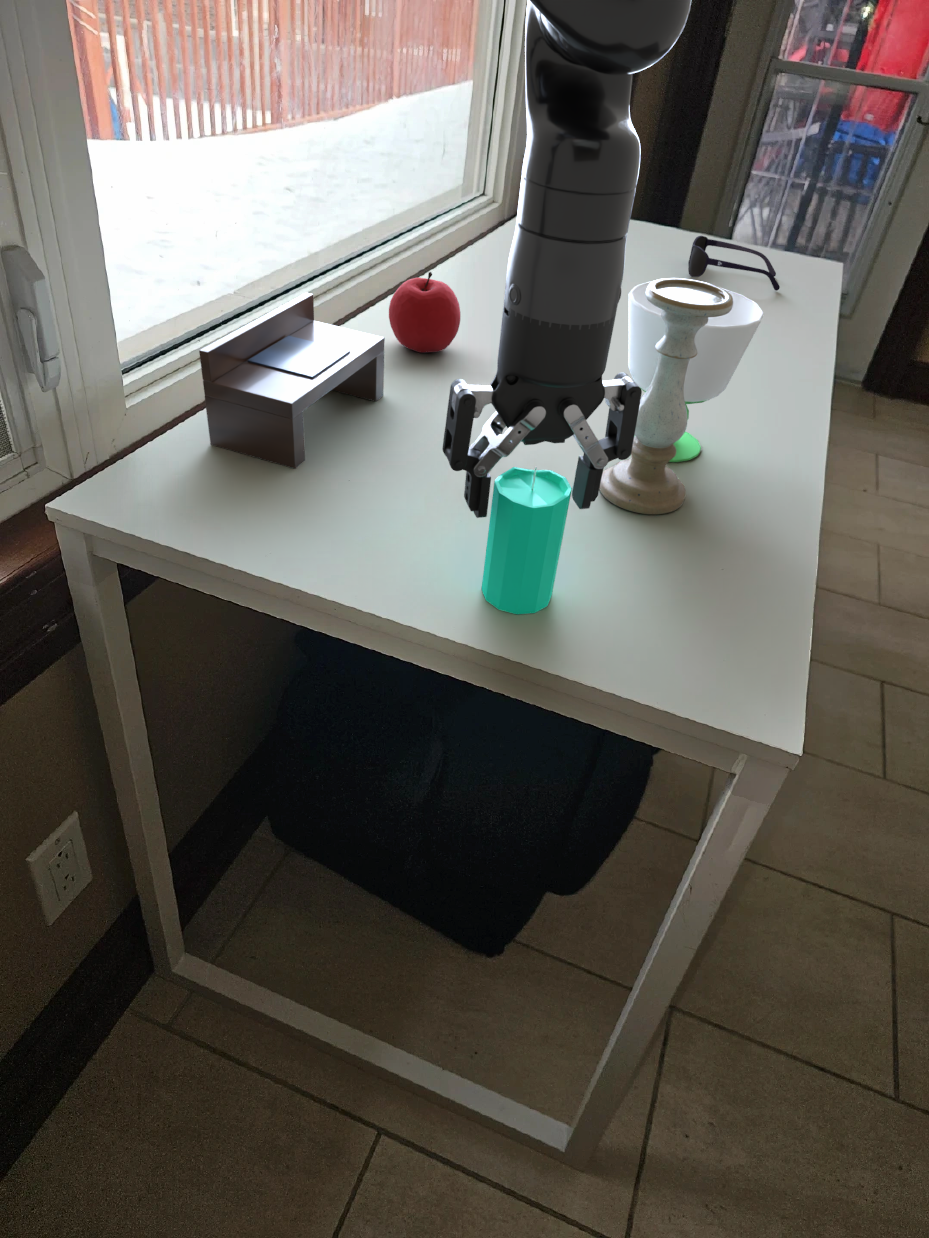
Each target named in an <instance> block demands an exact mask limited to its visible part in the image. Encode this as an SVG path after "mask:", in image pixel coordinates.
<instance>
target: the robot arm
mask: <svg viewBox="0 0 929 1238" xmlns="http://www.w3.org/2000/svg"><path fill="white" fill-rule="evenodd" d="M691 5H692V0H527V5H526V16H525V35H524V36H525V37H524V38H525V41H524V46H525V47H524V52H525V53H524V55H525V57H524V58H525V59H524V60H525V62H524V66H525V67H524V68H525V70H524V71H525V108H526V109H525V110H526V134H527V135H526V147H525V151H524V157H523V163H522V168H521V176H520V177H521V179H520V186H519V187H520V188H519V194H518V195H519V196H518V205H517V214H516V221H515V228H514V234H513V238H512V241H511V242H512V243H511V246H510V251H509V254H508V255H509V256H508V262H507V269H506V280H505V288H504V289H505V290H504V297H503V306H502V307H503V308H502V316H501V325H500V327H501V328H500V335H499V343H498V344H499V345H498V352H497V353H498V354H497V367H496V373H495V376H494V378H493V379H492V381H491V382H490V384H489V385H488V384H487V385H483V384H482V385H481V384H467V381H465V379H462V378H457V379H455V380H453V381H452V382H451V384H450V386H449V387H450V388H449V395H448V403H447V410H446V418H445V426H444V433H443V442H442V453H443V454H444V456H445V457H446V459H447V461H448V464H449V466H450V469H451V470H452V471H455V472H460V471H461V472H462V471H465V481H464V493H463V498H464V500H465V502H466V504H467V506H468V509H469V510H470V512H473V514H474V516H475V518H476V519H481V518H487V516H488V510H489V509H488V508H489V499H490V492H491V491H490V490H491V482H492V476H491V475H490V472H491V471H492V470H493V468H495V466H496V465H497V464H498V463H499V462H500V460H501V459H502V458H507V457H509V456H510V454H512V452H514V450H515V449H516V448H517V447H518V445H520V444H521V442H522V444H523V445H524V446H533V445H537V444H541V443H545V442H546V443H551V444H564V443H565V442H566V440H567V439H569V438H571V437H573V439H574V440H575V441H576V443H577V445H578V447H579V448H580V449H581V451H582V453H583V455H579V456H578V458H577V464H576V465H577V466H576V470H575V474H574V481H573V486H572V491H571V497H572V501H573V502H574V503H575V505H576V506H577V508H578V509H579V510H588V509H590V508H591V504H592V502H595V501H596V500H597V498H598V496H599V492H600V483H601V478H602V474H603V472H604V470H605V468H606V466H607V465H608V463H610V462H613V461H614V460H616V459H618V460H619V461H623V460H627V459H628V458H629V457H630V456H631V452H632V447H633V441H634V435H635V429H636V423H637V417H638V412H639V406H640V400H641V397H642V393H643V390H642V389H641V388H640V387H639V386H638V385H637V384H636V383H635V382H634V381H633V378H632V377H631V376H629V374H627V373H626V372H622V371H621V372H619V373H617V374H616V375H615V376H614V377H613V379H609V380H603V374H604V373H605V371H606V368H607V363H608V358H609V353H610V349H611V348H610V347H611V343H612V337H613V331H614V326H615V321H616V316H617V312H618V311H617V310H618V305H619V303H620V299H621V297H622V286H623V285H622V284H623V280H624V273H625V265H626V246H627V240H628V239H627V237H628V233H629V227H630V222H631V217H632V211H633V206H634V201H635V196H636V190H637V184H638V179H639V174H640V166H641V143H640V138H639V136H638V134H637V132H636V128H634V125H633V123H632V119H631V112H630V107H631V97H632V96H631V95H632V85H633V74H635V73H639V72H641V71H643V70H646V69H647V68H650V67H651V66H653V65H654V64H656V63H658V62H659V61H660V60H661V59H663V58H664V56H666V55H667V53H669V52H670V50H671V49H672V48H673V46H674V45H675V44H676V42H677V41H678V39H679V37H680V36H681V34H682V32H683V31H684V28H685V26H686V23H687V20H688V18H689V14H690V10H691ZM603 401H604V402H605V404H606V406H608V414H607V420H606V421H607V422H606V428H605V434H604V438H601V439H598V438H597V436H596V435H595V433H594V431H593V429H592V427H591V426H590V425H589V423H588V419H589V418H590V417H591V416H592V414H593V413H594V412H595V411H596V410H597V409H598V408H599V407H600V406H601V404H602V403H603ZM489 404H491V405H492V407H493V408H494V409H495V412H493V414H491V416H490V417H489V418H488V420H487V421H486V422H485V423H484V424H483V426H482V427H481V433H480V434H479V435H478V436H477V438H476V439H475V440H474V441H473V442H472V443H471V437H472V431H473V425H474V419H478V418H479V417H480V416H481V414H482V411H483V409H484V408H485V406H487V405H489ZM505 428H507V429H506V430H505V432H504V433H503V431H504V429H505Z"/></svg>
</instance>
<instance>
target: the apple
mask: <svg viewBox="0 0 929 1238" xmlns="http://www.w3.org/2000/svg"><path fill="white" fill-rule="evenodd" d="M432 276H433V273H432V271H428V276H427V278H426V277H425V278H424V277H413V278H410V279H407V280H405V281H404V282H403V283H402V284H401V285H399V287H398V288H397V289H396V290H395V292H393V295H392V297H391V299H390V301H389V306H388V320H389V325H390V327H391V330H392V333H393V335H394V337H395V339H396V340H397V341H398V342H399V343H400V344H401V346H403V347H405V348H406V349H409V350H412V351H414V352H416V353H420V354H422V353H423V354H424V353H439V352H441V351H443V350H445V349H447V348H448V347H449V346H450V345H451V343H452V342H453V341H454V339H455V338H456V337H457V334H458V333H459V329H460V325H461V307H460V303H459V300H458V297H457V296H456V293H455V292H454V290H453V289H452V288H451V287H450V285H449V284H447V283H446V282H443V281H441V280H437V279H432V278H431V277H432Z"/></svg>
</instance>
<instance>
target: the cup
mask: <svg viewBox="0 0 929 1238" xmlns="http://www.w3.org/2000/svg"><path fill="white" fill-rule="evenodd" d="M653 281H654V280H650V281H647V282H643V283H640V284H635V286H633V288H632V289H631V290H630V291H629V292H628V300H627V301H628V302H627V303H628V306H627V307H628V313H627V314H628V315H627V316H628V323H627V324H628V325H627V326H628V328H627V329H628V330H627V335H628V336H627V337H628V338H627V340H628V341H627V344H628V345H627V348H628V349H627V352H628V353H627V359H628V360H627V367H628V370H629V372H630V377H631V379H632V380H633V381H634V382H635V383H636V384H637V385H638V386H639V387H640V388H641V390H642V392H644V393H645V392H646V391H647V389H648V388H649V386H650V384H651V382H652V380H653V377H654V374H655V371H656V367H657V363H658V359H659V352H658V351H657V350H656V348H655V345H656V344H657V343H658V342H659V341H660V340H661V338H662V337H663V336H664V334H665V331H666V326H665V322H664V320H663V319H662V317H661V311H662V309H660V308H658V307H656V306H654V305H653V304H651V303H650V302H649V301H648V300H647V299H646V296H645V293H646V289H647V287H648V286H649V284H650V283H651V282H653ZM719 287H720V288H722V289H724V290H726V291H727V292H729V293H730V294H731V296H732V298H733V307H732V309H731V311H730V312H729V313H727V314H725V315H722V316H718V317H709V319H708V322H707V324H706V325H705V326H703V327H702V328H700V329H699V330H698V332H697V333H696V335H695V339H694V341H695V345H696V348H697V352H698V353H697V355H696V356H695V357H694V358H690V361H689V364H688V367H687V372H686V376H685V382H684V399H685V404H686V409H687V422H689V421H688V420H689V418H690V417H689V416H690V410H689V408H688V405H692V404H693V405H694V404H701V403H704V402H707V401H710V400H712V399H715V398H716V397H718V396H720V394H722V393H723V392H724V391H725V390H726V389H727V387H728V385H729V384H730V381H731V379H732V377H733V375H734V374H735V371H736V370H737V368H738V366H739V364H740V362H741V361H742V358H743V356H744V354H745V352H746V351H747V349H748V347H749V345H750V343H751V341H752V340H753V337H754V335H755V333H756V332H757V330H758V328H759V327H760V324H761V322H762V320H763V318H764V315H765V312H764V311H763V310H762V308H761V307H760V306H759V304H758V303H757V302H756V301H754V300H753V299H751V298H748V296H747V297H746V296H745V295H743V294H742V293H739V292H735V291H732V290H729V289H727V288H724V287H721V286H719ZM634 437H635V435H634ZM674 446H675V447H676V455H675V457H674V458H672V459H671V460H670V461H669V462H668V463H681V462H687V461H690V460H693V459H694V458H696V457H698V456H699V454H700V452H701V450H702V446H701V444H700V441H699V440H698V439H697V438H696V437H695V436H693V435H692V434H691V433H690V432H687V431H685V433H684V434H683V436H682V437H681V438H680V439H679V440H678V441H676V442H675V443H674Z"/></svg>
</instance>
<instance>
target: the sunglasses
mask: <svg viewBox="0 0 929 1238" xmlns="http://www.w3.org/2000/svg"><path fill="white" fill-rule="evenodd" d="M708 246H710V247H715V248H716V247H717V248H723V249H729V250H735V251H741V252H745V253H749V254H753V255H755V256H758V257H759V258H760V259H762V260H763V261H764V263H765V266H766V267H767V270H765V269H763V268H757V267H753V266H748V265H744V264H740V263H736V262H731V261H725V260H722V259H717V258H711V257H710V256H709V254H708V253H707V252H706V250H707V247H708ZM689 254H690V255H689V260H688V275H689V276H690V277H691V278H698V277H701V276H702V275H703V274H704V273H705V272H706V270H707V267H708V266H713V267H714V266H715V267H719V268H727V269H734V270H740V271H748V272H754V273H759V274H761V275H765V276H767V277H768V279H769V281H770V283H771V285H772V288H773V290H774V291H778V290H780V288H781V287H780V284H779V282H778V281H777V279H776V278H775V277H776V275H777V272H776V270H775V268H774V267H773V265H772V262H771V261H770V260H769V258H768V257H767V255H765V254H763V253H762V252H761V251H758V250H755V249H752V248H749V247H746V246H742V245H740V244H739V245H738V244H734V243H730V242H726V241H721V240H718V239H717V240H716V239H711V238H708V237H707V236H705V235H698V236H696V237H695V239H694V240H693V242H692V246H691V249H690V253H689Z"/></svg>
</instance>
